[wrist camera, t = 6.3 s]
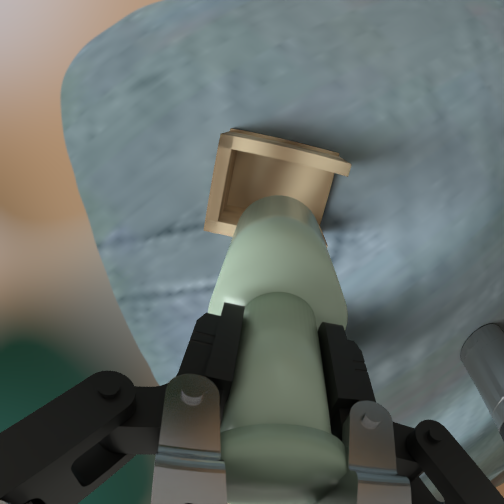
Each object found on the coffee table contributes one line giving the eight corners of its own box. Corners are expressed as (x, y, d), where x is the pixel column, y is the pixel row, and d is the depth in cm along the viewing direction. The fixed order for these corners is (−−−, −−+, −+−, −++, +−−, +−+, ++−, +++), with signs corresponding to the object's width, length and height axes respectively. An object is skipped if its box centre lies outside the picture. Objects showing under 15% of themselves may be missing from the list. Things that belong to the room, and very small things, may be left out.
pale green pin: (329, 206, 19) (436, 434, 5) (306, 280, 21) (334, 520, 7) (244, 186, 19) (154, 402, 4) (229, 264, 21) (160, 500, 7)
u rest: (337, 152, 33) (352, 161, 27) (315, 234, 37) (323, 259, 31) (231, 128, 33) (221, 130, 27) (215, 212, 37) (203, 233, 31)
